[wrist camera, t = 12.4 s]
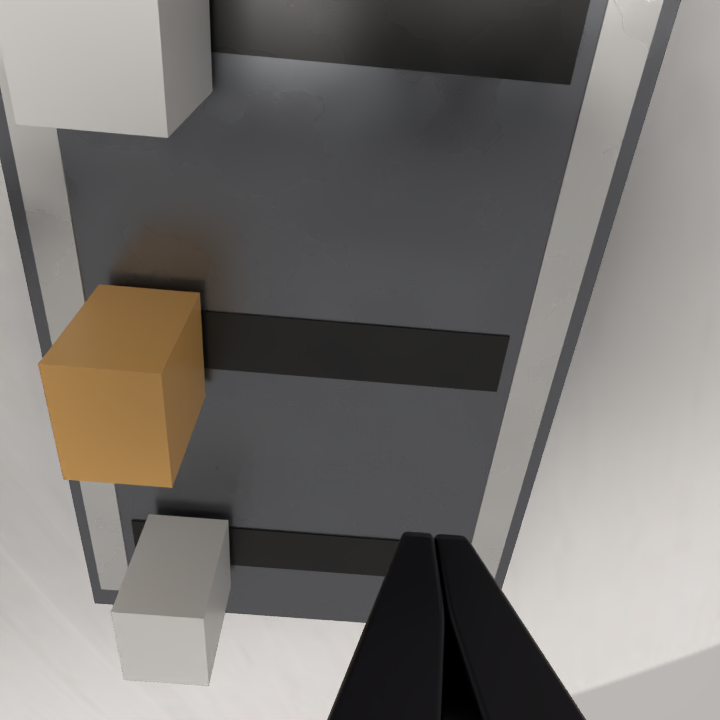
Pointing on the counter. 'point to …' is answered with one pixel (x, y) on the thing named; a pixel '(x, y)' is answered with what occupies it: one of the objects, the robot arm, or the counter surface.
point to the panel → (353, 271)
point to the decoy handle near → (106, 63)
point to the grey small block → (173, 600)
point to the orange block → (126, 385)
